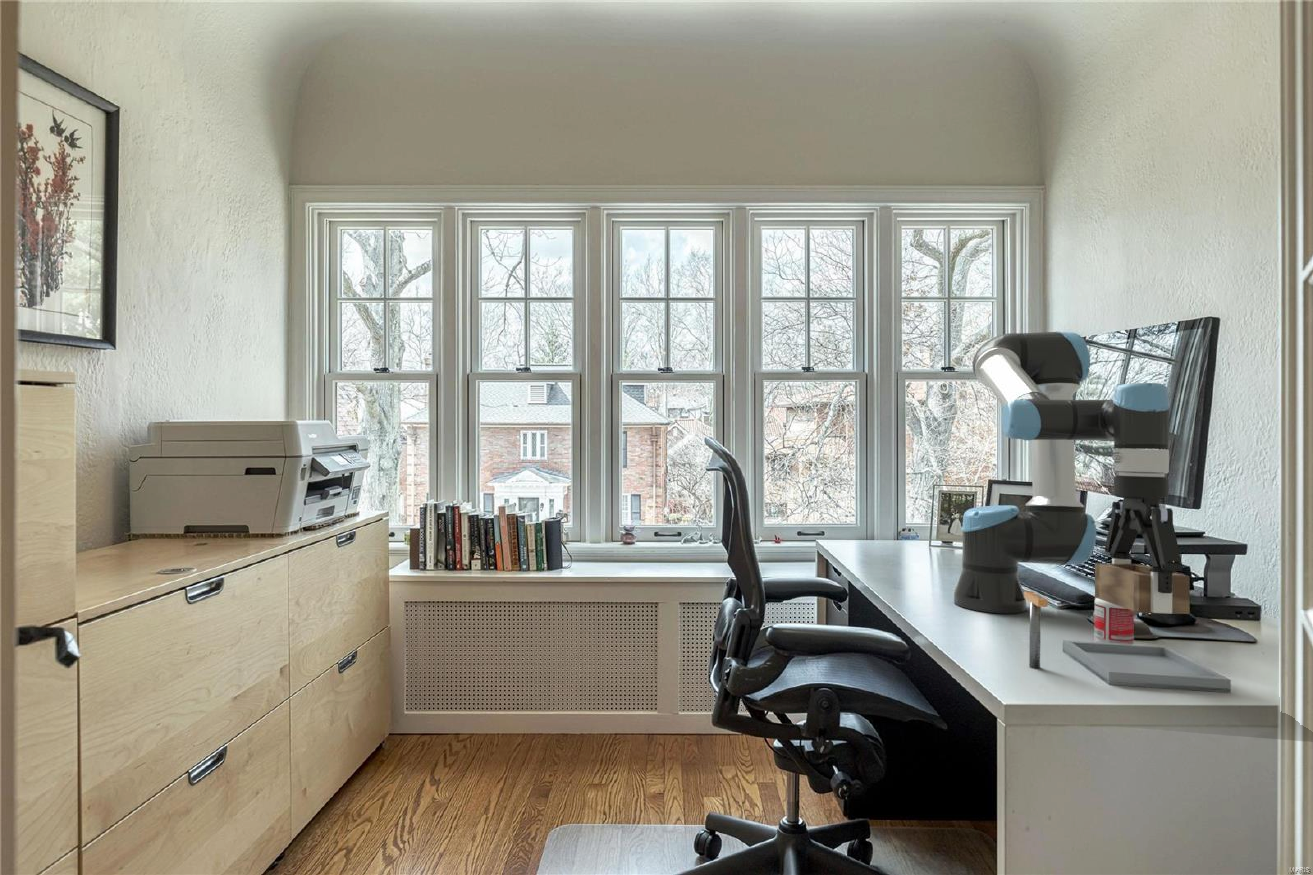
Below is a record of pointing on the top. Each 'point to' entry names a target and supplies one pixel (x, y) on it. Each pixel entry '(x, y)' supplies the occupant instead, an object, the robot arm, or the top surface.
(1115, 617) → the pill bottle
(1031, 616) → the t-shaped peg
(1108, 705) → the top surface
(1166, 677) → the tray
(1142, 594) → the brown wooden open box
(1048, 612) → the top surface
